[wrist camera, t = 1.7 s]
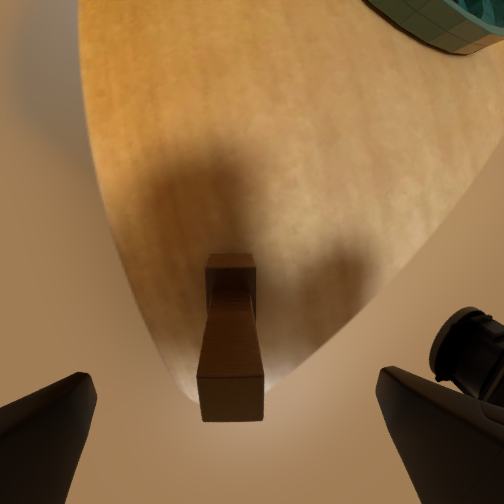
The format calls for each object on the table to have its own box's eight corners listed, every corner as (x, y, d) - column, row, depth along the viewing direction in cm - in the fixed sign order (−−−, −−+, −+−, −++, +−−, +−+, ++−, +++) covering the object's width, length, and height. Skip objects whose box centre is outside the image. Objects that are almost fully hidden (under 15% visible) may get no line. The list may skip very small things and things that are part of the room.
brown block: (252, 318, 18) (272, 443, 8) (212, 319, 17) (196, 445, 8) (252, 253, 17) (277, 338, 7) (209, 254, 17) (179, 340, 7)
